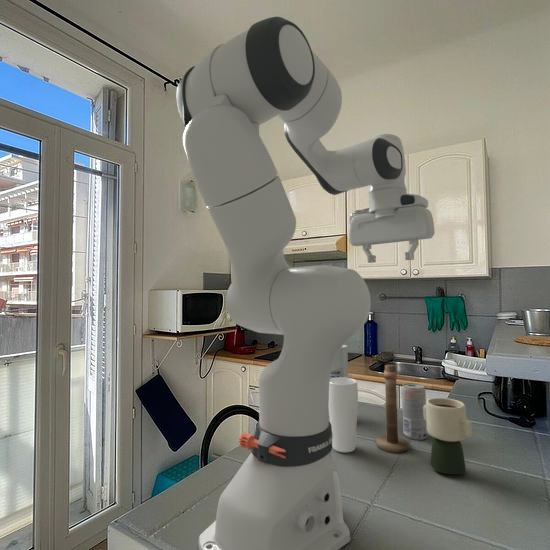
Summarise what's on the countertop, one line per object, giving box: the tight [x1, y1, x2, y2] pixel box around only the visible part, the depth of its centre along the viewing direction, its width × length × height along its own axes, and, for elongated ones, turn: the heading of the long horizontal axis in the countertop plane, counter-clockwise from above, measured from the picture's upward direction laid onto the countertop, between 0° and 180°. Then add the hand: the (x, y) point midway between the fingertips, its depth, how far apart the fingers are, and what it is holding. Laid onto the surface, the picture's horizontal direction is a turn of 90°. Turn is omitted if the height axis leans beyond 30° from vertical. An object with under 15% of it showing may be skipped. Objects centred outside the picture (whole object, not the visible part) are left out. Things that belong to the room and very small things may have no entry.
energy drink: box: [401, 382, 428, 441], centre depth 85 cm, size 5×5×12 cm
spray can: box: [329, 344, 349, 421], centre depth 98 cm, size 6×6×20 cm
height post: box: [375, 364, 410, 454], centre depth 80 cm, size 7×7×18 cm
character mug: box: [423, 397, 473, 475], centre depth 69 cm, size 11×7×13 cm, turn 24°
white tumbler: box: [329, 377, 359, 454], centre depth 79 cm, size 7×7×15 cm
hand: (390, 261), depth 85 cm, fingers open, 8 cm apart
